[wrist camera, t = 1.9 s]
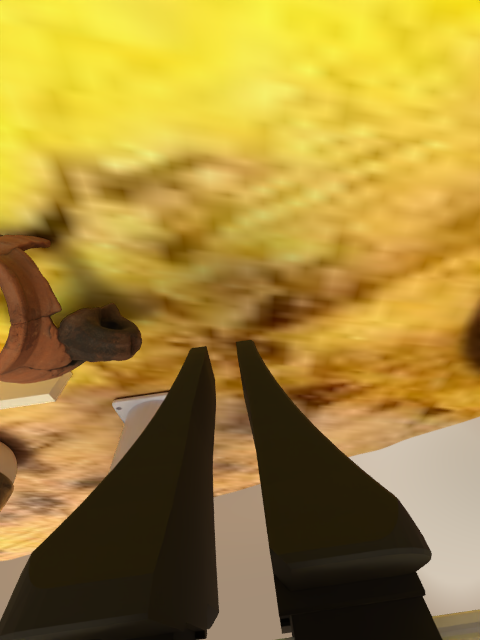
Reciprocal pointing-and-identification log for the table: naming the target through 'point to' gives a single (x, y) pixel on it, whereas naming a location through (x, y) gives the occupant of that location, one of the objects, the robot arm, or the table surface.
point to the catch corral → (32, 392)
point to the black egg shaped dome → (6, 473)
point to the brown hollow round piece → (38, 329)
